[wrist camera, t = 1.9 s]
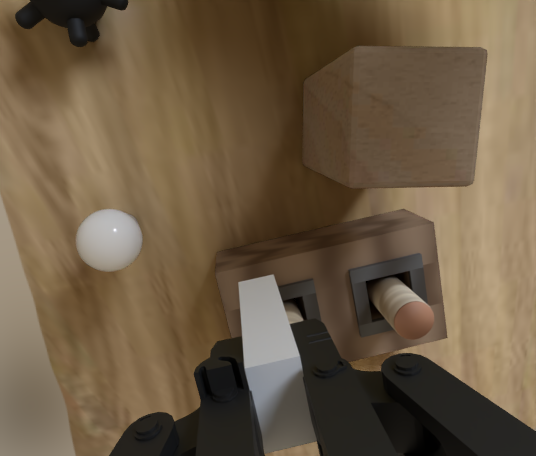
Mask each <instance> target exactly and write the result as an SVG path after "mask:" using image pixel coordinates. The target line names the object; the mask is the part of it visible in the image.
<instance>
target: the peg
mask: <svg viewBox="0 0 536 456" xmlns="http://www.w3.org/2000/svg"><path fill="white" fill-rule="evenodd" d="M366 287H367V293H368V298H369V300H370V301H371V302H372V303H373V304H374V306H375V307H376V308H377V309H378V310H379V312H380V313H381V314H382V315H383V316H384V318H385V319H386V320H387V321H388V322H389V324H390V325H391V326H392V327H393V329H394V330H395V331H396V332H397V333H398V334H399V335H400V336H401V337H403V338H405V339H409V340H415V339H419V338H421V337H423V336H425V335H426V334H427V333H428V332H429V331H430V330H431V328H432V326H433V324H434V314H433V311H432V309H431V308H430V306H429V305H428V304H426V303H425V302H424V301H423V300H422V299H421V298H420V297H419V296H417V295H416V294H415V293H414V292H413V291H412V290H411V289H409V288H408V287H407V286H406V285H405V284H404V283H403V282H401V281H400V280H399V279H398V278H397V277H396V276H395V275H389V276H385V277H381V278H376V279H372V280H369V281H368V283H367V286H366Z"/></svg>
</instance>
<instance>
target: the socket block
mask: <svg viewBox="0 0 536 456" xmlns="http://www.w3.org/2000/svg"><path fill="white" fill-rule="evenodd" d="M273 274H274V277H275V281H276V284H277V287H278V290H279V293H280V296H281V299H282V301H284V300H288V299H292V298H296V297H297V301H298V308H299V310H300V313H301V316H302V318H303V321H305V320H309V319H314V318H316V319H317V320H319V321H321V322H323V323H324V324H325V326H326V328H327V330H328V332H329V334H330V336H331V339H332V340H333V342H334V344H335V346H336V348H337V350H338V352H339V354H340V356H341V358H342V359H345V360H347V361H348V362H351V361H355V360H359V359H363V358H367V357H371V356H376V355H380V354H384V353H388V352H392V351H396V350H400V349H404V348H408V347H412V346H416V345H420V344H425V343H429V342H433V341H437V340H441V339H445V338H447V330H446V322H445V313H444V305H443V296H442V288H441V280H440V271H439V263H438V254H437V246H436V238H435V229H434V222H431V221H429V220H427V219H425V218H423V217H420V216H418V215H416V214H414V213H412V212H409V211H407V210H405V209H401V210H397V211H392V212H388V213H384V214H379V215H375V216H371V217H366V218H362V219H358V220H353V221H349V222H345V223H340V224H336V225H332V226H328V227H323V228H319V229H315V230H310V231H306V232H302V233H297V234H293V235H289V236H284V237H280V238H276V239H271V240H267V241H263V242H258V243H254V244H250V245H245V246H241V247H237V248H232V249H228V250H224V251H220V252H217V257H216V267H215V276H216V280H217V284H218V288H219V291H220V295H221V299H222V303H223V307H224V311H225V315H226V318H227V322H228V326H229V330H230V334H231V338H235V337H239V336H242V326H241V312H240V299H239V285H238V282H241V281H246V280H250V279H255V278H259V277H264V276H268V275H273ZM389 275H395V276H396V277H397V278H398V279H399V280H400V281H401V282H403V283H404V284H405V285H406V286H407V287H408V288H409V289H411V290H412V291H413V292H414V293H415V294H416V295H417V296H419V297H420V298H421V299H422V300H423V301H424V302H425V303H426V304H428V305H429V306H430V308H431V309H432V311H433V314H434V324H433V326H432V328H431V330H430V331H429V332H428V333H427V334H426V335H425V336H423V337H421V338H419V339H415V340H409V339H405V338H403V337H401V336H400V335H399V334H398V333H397V332H396V331H395V330H394V329H393V327H392V326H391V325H390V324H389V322H388V321H387V320H386V319H385V318H384V316H383V315H382V314H381V313H380V312H379V310H378V309H377V308H376V307H375V306H374V304H373V303H372V302H371V301H370V300H369V298H368V293H367V287H366V281H368V280H372V279H376V278H381V277H385V276H389Z"/></svg>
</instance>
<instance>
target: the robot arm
mask: <svg viewBox="0 0 536 456" xmlns="http://www.w3.org/2000/svg"><path fill="white" fill-rule="evenodd" d="M238 285H239V299H240V312H241V326H242V336H239V337H235V338H231V339H226V340H222V341H218V342H217V343H216V344H215V345H214V347H213V348H212V349H211V354H210V358H209V359H207V360H205V361H203V362H202V363H201V364H200V365H199V366H197V367H196V369H195V371H194V377H195V380H196V384H197V388H198V391H199V395H200V399H201V404H200V407H199V408H198V409H197V410H196V411H194V412H193V413H191V414H189V415H188V416H186V417H184V418H181V419H179V420H177V421H175V422H174V420H173V417H172V416H171V415H169V414H168V413H163V412H157V413H152V414H148V415H145V416H143V417H141V418H139V419H138V420H136V421H135V422H134V423H132V424H131V425H130V426H129V427H128V428H127V429H126V431H125V432H124V433H123V435H122V436H121V438H120V439H119V441H118V443H117V444H116V446H115V447H114V449H113V450H112V452H111V454H110V455H109V456H265V455H264V452H265V454H266V453H270V452H274V451H278V450H283V449H287V448H291V447H295V446H299V445H303V444H307V443H311V442H316V441H317V444H318V449H319V454H320V456H536V431H534V430H533V429H531V428H530V427H528V426H527V425H525V424H524V423H523V422H521V421H520V420H518V419H517V418H515V417H514V416H512V415H511V414H509V413H508V412H506V411H505V410H503V409H502V408H500V407H499V406H497V405H496V404H494V403H493V402H491V401H490V400H489V399H487V398H486V397H484V396H483V395H481V394H480V393H478V392H477V391H475V390H474V389H472V388H471V387H469V386H468V385H466V384H465V383H463V382H462V381H460V380H459V379H457V378H456V377H454V376H453V375H452V374H450V373H449V372H447V371H446V370H444V369H443V368H441V367H440V366H438V365H437V364H435V363H434V362H432V361H431V360H429V359H428V358H426V357H423V356H421V355H417V354H412V353H402V354H397V355H394V356H391V357H389V358H388V359H386V360H385V361H384V362H383V364H382V365H381V371H372V372H370V371H360V370H355V369H353V368H352V366H351V365H350V363H349V362H348V361H347V360H345V359H342V358H341V356H340V354H339V352H338V350H337V348H336V346H335V344H334V342H333V340H332V339H331V336H330V334H329V332H328V330H327V328H326V326H325V324H324V323H323V322H321V321H319V320H317V319H316V318H314V319H309V320H305V321H300V322H296V323H292V324H289V321H288V318H287V315H286V311H285V308H284V305H283V302H282V299H281V296H280V293H279V290H278V287H277V284H276V281H275V277H274V274H273V275H268V276H264V277H259V278H255V279H250V280H246V281H241V282H238Z"/></svg>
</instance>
